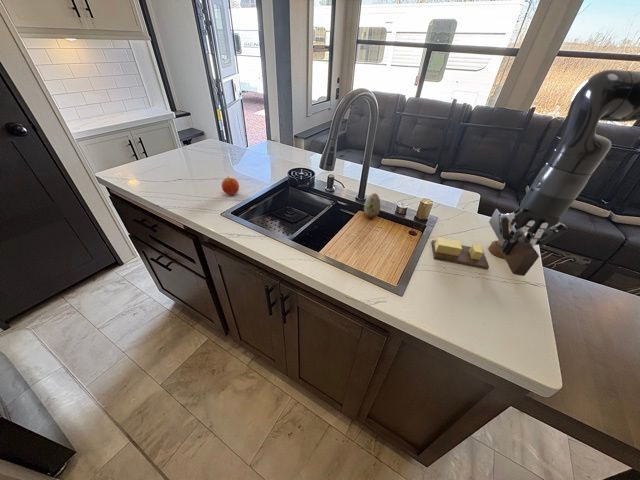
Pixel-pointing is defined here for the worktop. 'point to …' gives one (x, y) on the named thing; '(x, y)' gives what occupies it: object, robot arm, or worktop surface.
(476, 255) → the butter pat
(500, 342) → the worktop surface
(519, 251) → the knife
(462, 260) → the butter board
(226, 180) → the fruit
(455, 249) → the butter stick
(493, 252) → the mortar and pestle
